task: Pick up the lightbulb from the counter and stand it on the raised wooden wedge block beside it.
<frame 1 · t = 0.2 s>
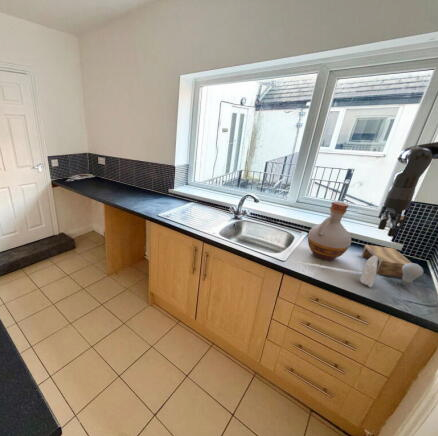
hand: (385, 232, 107), 21 cm above the counter, tool pointing down, fingers open, 8 cm apart
pale stone slab: (365, 279, 109), on the counter
wooden wedge block: (383, 266, 120), on the counter
jug: (321, 257, 128), on the counter
lightbulb: (404, 285, 105), on the counter
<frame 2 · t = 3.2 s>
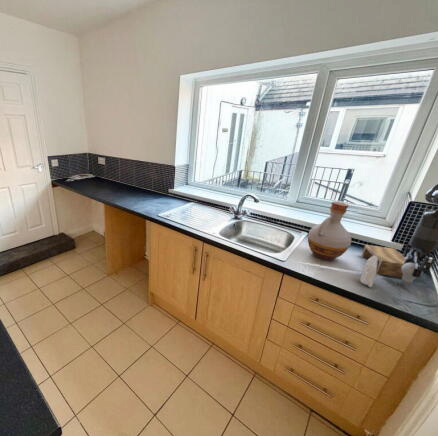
hand: (410, 272, 103), 7 cm above the counter, tool pointing down, fingers closed on lightbulb, 6 cm apart
lightbulb: (404, 285, 105), on the counter, touching gripper
everything else where it was.
when the fingers open (14 cm above the counter, at t = 10.3 s): lightbulb stays where it is, resting on wooden wedge block.
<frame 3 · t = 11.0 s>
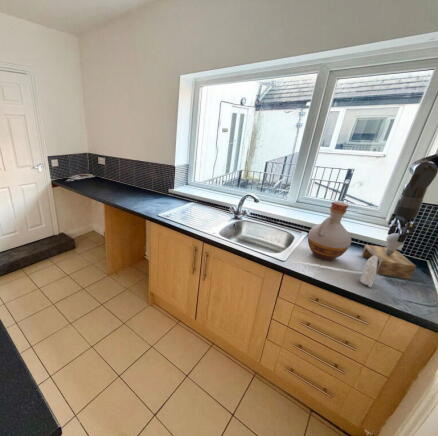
hand: (395, 238, 114), 15 cm above the counter, tool pointing down, fingers open, 8 cm apart
lightbulb: (388, 254, 117), point 7 cm above the counter, touching wooden wedge block
everything else where it was.
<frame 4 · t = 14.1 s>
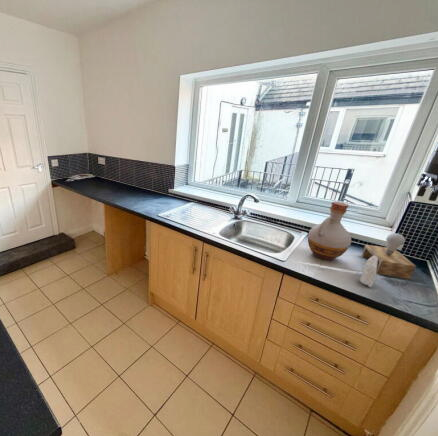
hand: (425, 198, 112), 34 cm above the counter, tool pointing down, fingers open, 8 cm apart
nothing on the counter moved.
at the end: lightbulb inside the target area on the wooden wedge block (0.1 cm from its centre), point 6.8 cm above the wooden wedge block's base; lightbulb tilted 3°; the gripper is holding nothing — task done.
